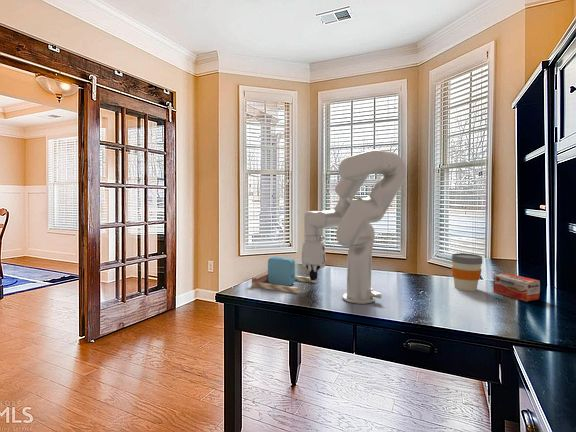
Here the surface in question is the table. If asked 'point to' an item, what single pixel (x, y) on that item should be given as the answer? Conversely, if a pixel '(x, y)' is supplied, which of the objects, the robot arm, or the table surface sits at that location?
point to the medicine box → (517, 287)
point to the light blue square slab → (281, 271)
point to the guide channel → (262, 282)
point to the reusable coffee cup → (466, 271)
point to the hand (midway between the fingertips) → (313, 279)
